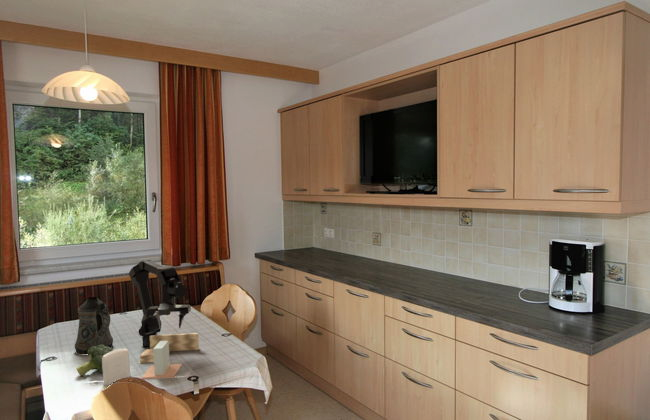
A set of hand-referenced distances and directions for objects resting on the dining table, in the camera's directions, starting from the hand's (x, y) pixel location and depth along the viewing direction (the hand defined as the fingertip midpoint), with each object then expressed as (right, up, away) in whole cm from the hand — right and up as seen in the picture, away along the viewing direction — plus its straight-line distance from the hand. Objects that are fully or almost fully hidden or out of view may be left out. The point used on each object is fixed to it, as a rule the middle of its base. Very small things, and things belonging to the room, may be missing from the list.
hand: (169, 328), depth 201 cm
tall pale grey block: (+4, -12, -19) cm, 23 cm away
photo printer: (-12, -14, -26) cm, 32 cm away
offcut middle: (-6, -12, -6) cm, 15 cm away
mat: (+4, -13, -19) cm, 23 cm away
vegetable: (-24, -14, -18) cm, 33 cm away
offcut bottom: (-6, -13, -6) cm, 16 cm away
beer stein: (-38, -13, +10) cm, 42 cm away
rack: (+2, -12, -3) cm, 13 cm away
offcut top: (-6, -10, -6) cm, 14 cm away
